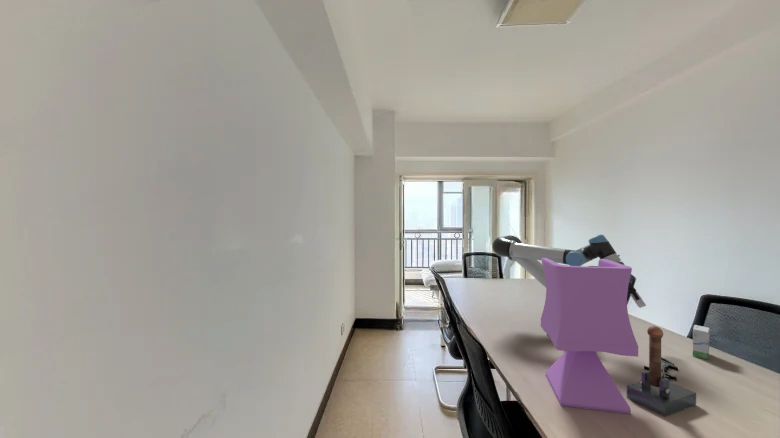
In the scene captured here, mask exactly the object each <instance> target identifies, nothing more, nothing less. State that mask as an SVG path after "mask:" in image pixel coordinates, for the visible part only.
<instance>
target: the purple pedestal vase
mask: <svg viewBox="0 0 780 438" xmlns="http://www.w3.org/2000/svg"><path fill="white" fill-rule="evenodd" d="M540 261H541V264H543V269H544V274H545V280H546V287H545V300H544V306H543V309H542V313H541V317H540V327H541V328H542V330H543V331H544V332H545V333H546V335H547V334H548V335H547V337H549V339H550V340H551V343H552V345H553V346H554V348H555V349H556V350H557V351H564V352H563V354H562V355H561V356H559V358H558V359H556V360H555V362H553V363H552V364H551V366H550V367H549V368H547V370H546V371H545V378H546V377H547V378H546V380H547V379H548V380H547V381H549V382H548V383H550V384H549V385H551V386H550V388H551V387H552V388H551V390H552V389H553V390H552V392H553V391H554V392H553V393H554V395H555V397H556V399H557V402H558V403H559V405H560V406H561V407H567V408H573V409H574V408H576V409H577V408H578V409H582V410H584V409H585V410H592V411H599V412H600V411H602V412H611V413H620V414H627V415H631V406H630V405H629V404H628V402H627V401H626V399H625V398H624V396H623V395H622V393H621V391H620V390H619V388H618V386H617V385H616V383H615V381H614V380H613V379H612V377H611V376H610V374H609V372H608V370H607V369H606V367H605V365H604V364H603V362H602V361H601V359H600V357H599V356H598V355H597V352H601V353H607V354H613V355H619V356H624V357H625V356H626V357H627V356H628V357H637V358H638V357H639V345H638V342H637V339H636V337H635V335H634V331H633V328H632V326H631V325H632V324H631V321H630V317H629V311H628V285H629V280H630V281H631V276H632V272H633V271H632V270H633V267H631V266H629V265H626V264H624V265H623V264H620V263H617V262H614V261H610V260H607V259H600V258H599V259H598V264H597V266H589V265H588V266H586V265H585V266H584V265H582V266H570V265H566V264H561V263H556V262H554V261H552V260H550V259H548V258H541V260H540Z"/></svg>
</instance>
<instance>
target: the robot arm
mask: <svg viewBox="0 0 780 438" xmlns="http://www.w3.org/2000/svg"><path fill="white" fill-rule="evenodd" d="M588 243H589V244H587V245H585V246H583V247H581V248H579V249H575V250H573V249H566V248H558V247H552V246H543V245H536V244H528V243H523V242H522V241H521V239H520V238H518V236H515V235H505V236H499V237H496V238H495V239H494V241H493V242H492V247H491V248H492V251H493V252H494V254H495V255H496V256H498V257H502V258H504V257H505V258H508V260H510V261H511V262H516V263H517V264H518V265H519V266H521V267H522V269H524V270H525V271H526V272H527V273H529V275H531V276H532V278H534V279H535V280H537V281H538V282H539V283H540V284H541V285H542V286H544V287H545V288H546V280H545V274H544V269H543V264H542V262H540V261H542V260H541V258H548V259H550V260H552V261H554V262H556V263H558V264H561V265H568V266H584V265H585V264H587V263H589V262H591V261H593V260H595V259H598V258H599V259H607V260H610V261H614V262H617V263H620V264H623V265H625V263H624V262H623V261H622V259H621V257H620V256H621V255H620V254H617V252H616V250H615V249H614V247H613V246H612V244H611V243H610V241H609V240H608V239H607V238H606V236H605V235H604V234H598V235H595V236H593V237H592V238H589V239H588ZM627 295H630V297H631V299H632V300H633V301H634V303H635V304H636V306H637V307H639V308H640V309H641V308H644V307H647V305H646V303H645V301H644V300H643V299H642V297H641V296H640V294H639V293H638V291H637V290H636V288H635V287H634V286H633V285H632V282H631V279H630V280H629V285H628V292H627ZM546 335H547V336H548V334H547V333H546Z"/></svg>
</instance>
